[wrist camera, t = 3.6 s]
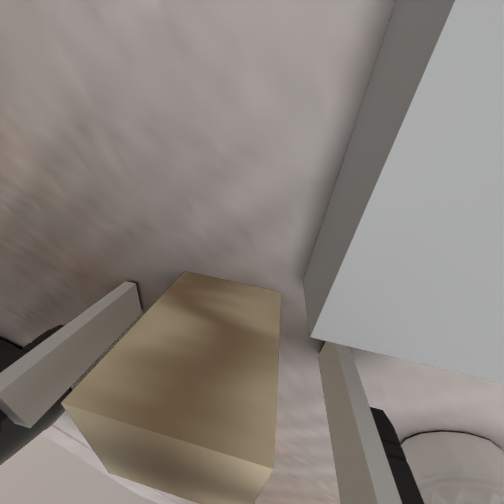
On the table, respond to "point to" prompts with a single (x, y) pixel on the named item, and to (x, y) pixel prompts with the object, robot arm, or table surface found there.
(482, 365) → the grey block
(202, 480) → the maple block
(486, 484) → the white cup
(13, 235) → the table surface
